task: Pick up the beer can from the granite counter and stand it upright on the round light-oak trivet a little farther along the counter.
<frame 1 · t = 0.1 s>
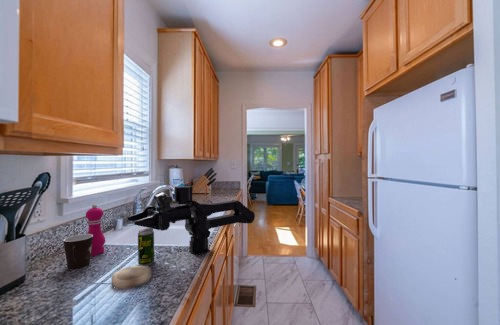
hand: (130, 220, 81), 17 cm above the counter, tool horizontal, fingers open, 9 cm apart
beer can: (146, 263, 86), on the counter
pepper mill: (95, 253, 97), on the counter
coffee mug: (75, 268, 83), on the counter
trivet: (132, 279, 74), on the counter
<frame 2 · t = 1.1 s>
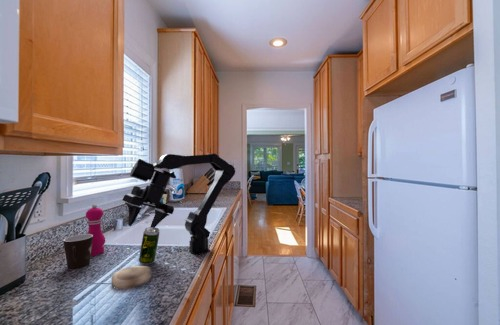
hand: (140, 227, 84), 13 cm above the counter, tool tilted 25°, fingers open, 9 cm apart
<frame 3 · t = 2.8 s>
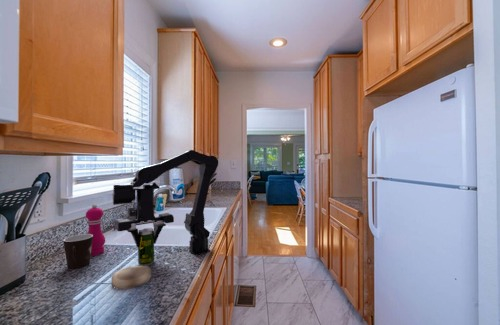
hand: (146, 245, 86), 7 cm above the counter, tool pointing down, fingers closed on beer can, 5 cm apart
beer can: (146, 263, 86), on the counter, touching gripper
everything else where it was.
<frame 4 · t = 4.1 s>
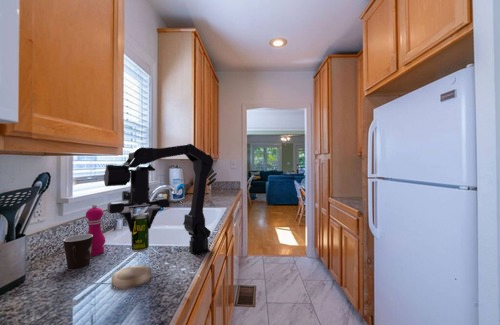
hand: (140, 230, 81), 13 cm above the counter, tool pointing down, fingers closed on beer can, 5 cm apart
beer can: (140, 250, 81), point 6 cm above the counter, touching gripper
everything else where it was.
when the fingers open (9 cm above the counter, at t = 5.6 s): beer can stays where it is, resting on trivet.
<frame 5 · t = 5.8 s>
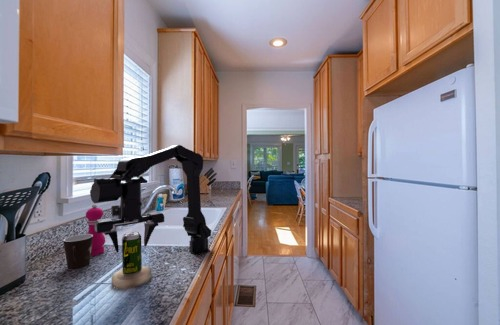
hand: (131, 249, 74), 9 cm above the counter, tool pointing down, fingers open, 8 cm apart
beer can: (132, 273, 74), point 2 cm above the counter, touching trivet
everything else where it was.
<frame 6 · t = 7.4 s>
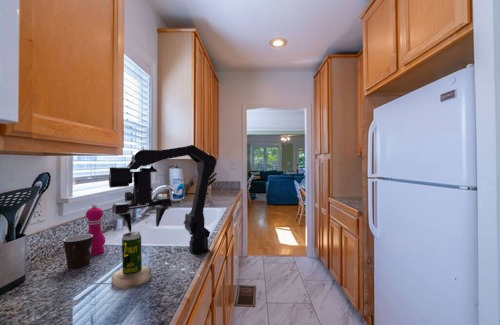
hand: (144, 229, 85), 13 cm above the counter, tool pointing down, fingers open, 9 cm apart
nothing on the counter moved.
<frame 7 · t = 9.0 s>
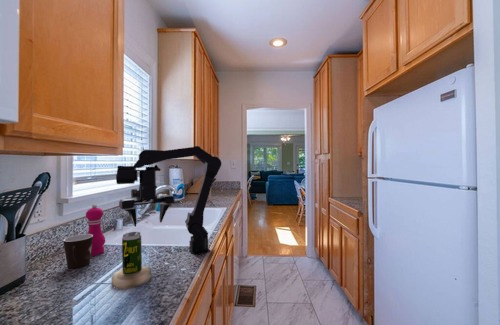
hand: (148, 224, 90), 13 cm above the counter, tool pointing down, fingers open, 9 cm apart
nothing on the counter moved.
at the end: beer can 0.1 cm off-centre on the trivet, point 1.9 cm above the trivet's base; beer can tilted 0°; the gripper is holding nothing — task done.
